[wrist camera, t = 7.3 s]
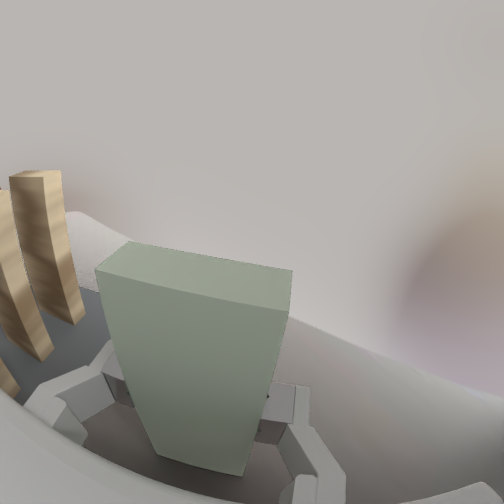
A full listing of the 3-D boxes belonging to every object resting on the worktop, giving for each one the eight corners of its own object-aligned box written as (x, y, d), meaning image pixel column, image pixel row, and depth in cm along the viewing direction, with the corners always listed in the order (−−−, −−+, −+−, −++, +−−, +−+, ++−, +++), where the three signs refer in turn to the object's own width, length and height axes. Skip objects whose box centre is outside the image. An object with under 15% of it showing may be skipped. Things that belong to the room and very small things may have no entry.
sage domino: (248, 451, 12) (292, 270, 7) (242, 476, 10) (289, 311, 5) (166, 430, 12) (128, 240, 7) (156, 454, 11) (94, 268, 6)
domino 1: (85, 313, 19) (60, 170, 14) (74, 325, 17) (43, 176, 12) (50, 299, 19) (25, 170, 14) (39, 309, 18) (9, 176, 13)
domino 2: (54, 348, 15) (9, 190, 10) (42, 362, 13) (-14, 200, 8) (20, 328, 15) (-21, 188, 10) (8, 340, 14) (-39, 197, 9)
